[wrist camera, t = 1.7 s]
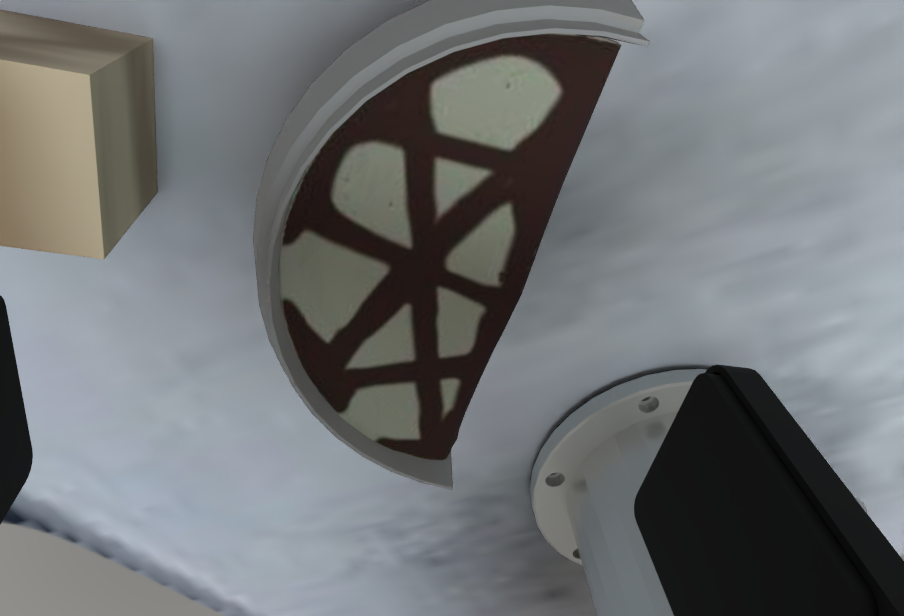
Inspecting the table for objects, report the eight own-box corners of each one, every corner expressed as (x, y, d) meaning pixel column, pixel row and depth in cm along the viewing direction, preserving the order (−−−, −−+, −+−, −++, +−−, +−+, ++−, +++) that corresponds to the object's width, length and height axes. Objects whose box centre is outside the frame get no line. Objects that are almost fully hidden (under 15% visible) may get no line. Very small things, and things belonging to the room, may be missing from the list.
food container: (342, -114, 18) (299, -126, 10) (546, -39, 20) (665, 9, 11) (267, 266, 24) (200, 464, 16) (427, 303, 25) (445, 504, 17)
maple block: (153, 37, 20) (89, 75, 16) (158, 191, 22) (104, 259, 18) (-29, 3, 19) (-149, 33, 15) (-2, 167, 22) (-99, 232, 17)
